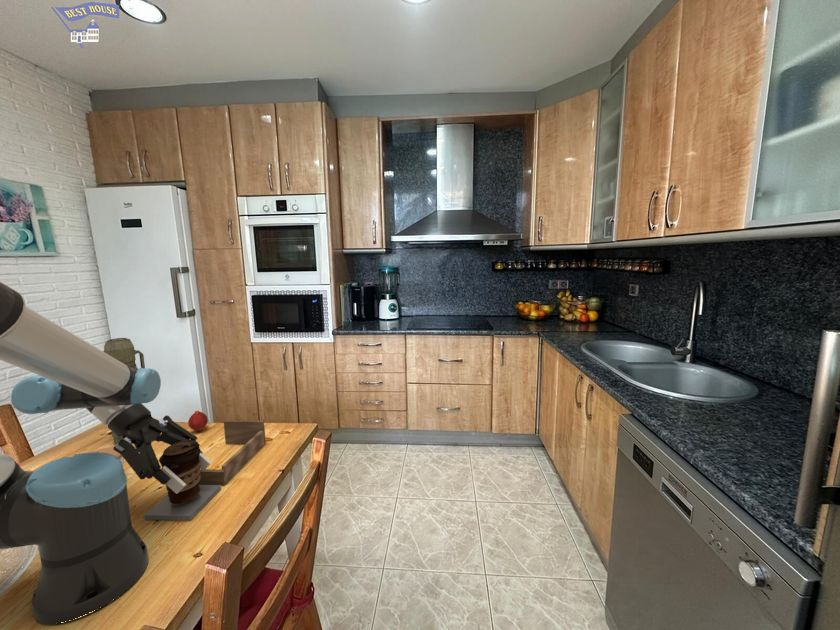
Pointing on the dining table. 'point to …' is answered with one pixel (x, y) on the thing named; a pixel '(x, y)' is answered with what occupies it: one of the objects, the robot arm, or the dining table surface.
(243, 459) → the u-shaped wooden frame
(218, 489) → the slate pad
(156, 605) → the dining table surface
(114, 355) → the thermos
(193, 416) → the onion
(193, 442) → the coffee cup
